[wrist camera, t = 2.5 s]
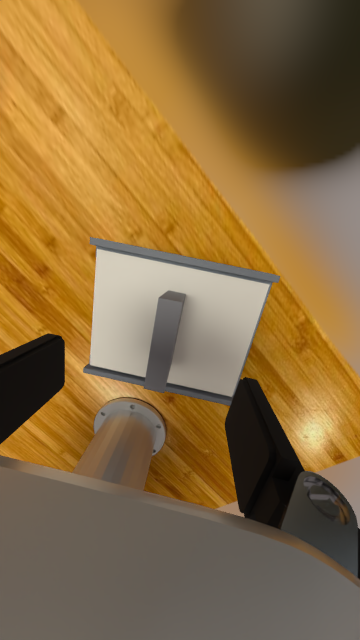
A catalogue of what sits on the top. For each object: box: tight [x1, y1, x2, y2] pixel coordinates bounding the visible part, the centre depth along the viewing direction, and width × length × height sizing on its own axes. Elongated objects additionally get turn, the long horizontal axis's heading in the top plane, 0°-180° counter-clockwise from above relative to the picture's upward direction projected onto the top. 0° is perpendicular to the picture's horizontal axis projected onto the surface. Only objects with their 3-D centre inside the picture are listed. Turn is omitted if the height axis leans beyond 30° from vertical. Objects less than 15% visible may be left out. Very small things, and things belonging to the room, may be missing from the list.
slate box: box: [83, 237, 280, 406], centre depth 22 cm, size 15×18×7 cm
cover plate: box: [90, 249, 270, 397], centre depth 17 cm, size 13×17×6 cm
